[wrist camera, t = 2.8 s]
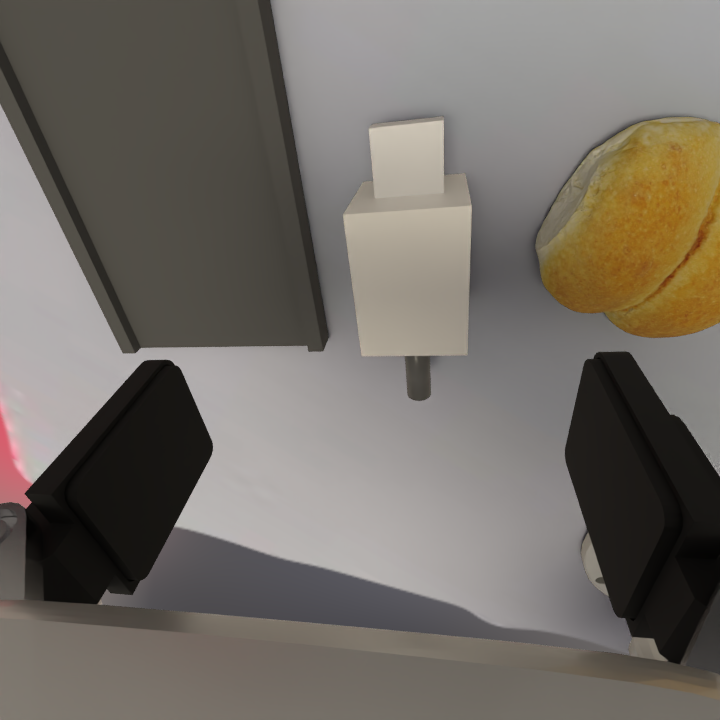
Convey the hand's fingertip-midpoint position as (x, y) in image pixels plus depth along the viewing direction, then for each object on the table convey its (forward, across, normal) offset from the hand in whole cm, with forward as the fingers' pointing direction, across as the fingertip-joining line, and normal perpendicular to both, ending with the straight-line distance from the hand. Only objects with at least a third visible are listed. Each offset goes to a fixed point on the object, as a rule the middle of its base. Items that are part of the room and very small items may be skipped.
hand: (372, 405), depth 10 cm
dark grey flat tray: (+13, +10, -4) cm, 17 cm away
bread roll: (+13, -10, +1) cm, 16 cm away
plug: (+12, -1, +1) cm, 12 cm away
